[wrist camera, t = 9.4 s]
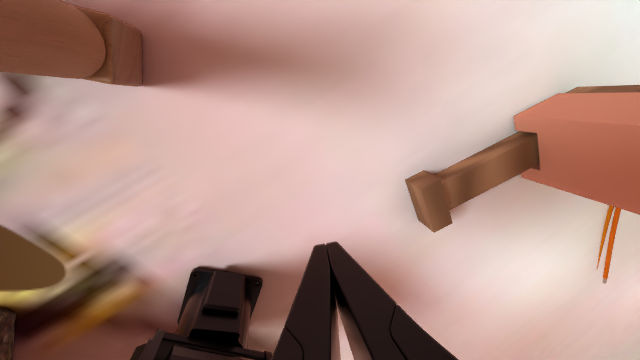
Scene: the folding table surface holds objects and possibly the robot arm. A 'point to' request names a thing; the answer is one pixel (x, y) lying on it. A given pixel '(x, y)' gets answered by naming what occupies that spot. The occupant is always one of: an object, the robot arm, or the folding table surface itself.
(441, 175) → the rail
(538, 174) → the block
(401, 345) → the robot arm
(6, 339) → the stone block
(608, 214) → the motor
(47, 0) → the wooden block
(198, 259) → the folding table surface
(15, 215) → the folding table surface
